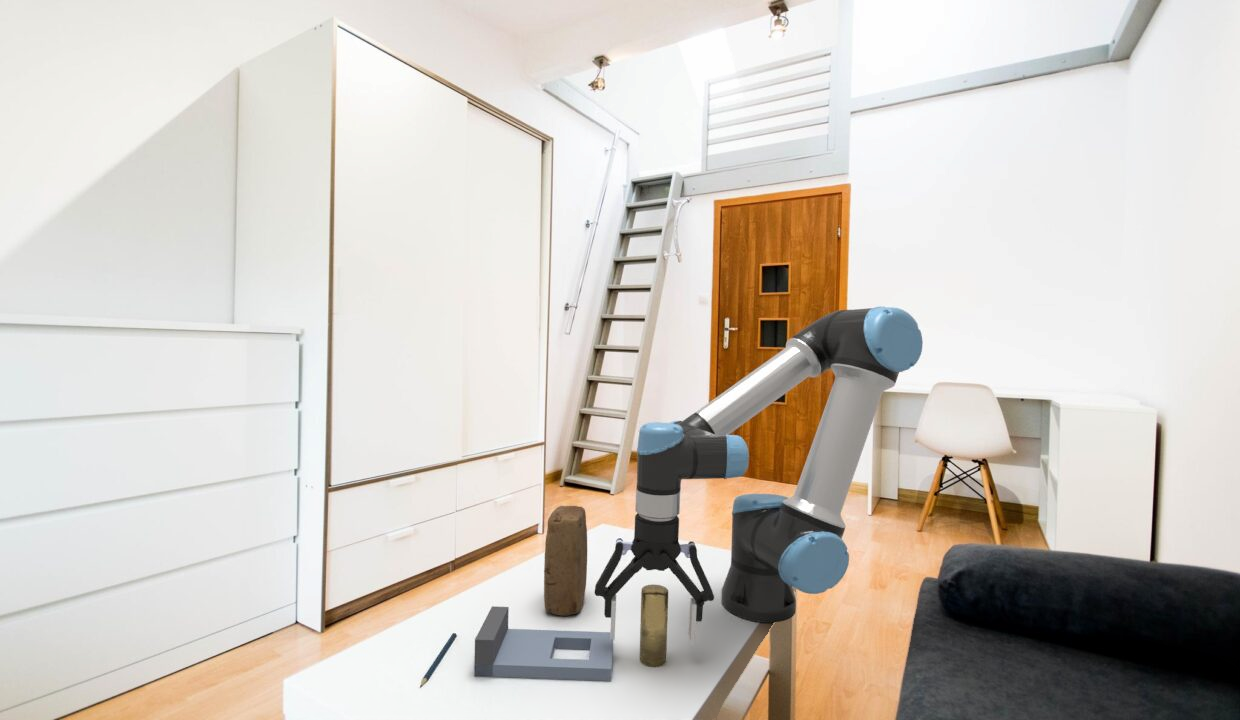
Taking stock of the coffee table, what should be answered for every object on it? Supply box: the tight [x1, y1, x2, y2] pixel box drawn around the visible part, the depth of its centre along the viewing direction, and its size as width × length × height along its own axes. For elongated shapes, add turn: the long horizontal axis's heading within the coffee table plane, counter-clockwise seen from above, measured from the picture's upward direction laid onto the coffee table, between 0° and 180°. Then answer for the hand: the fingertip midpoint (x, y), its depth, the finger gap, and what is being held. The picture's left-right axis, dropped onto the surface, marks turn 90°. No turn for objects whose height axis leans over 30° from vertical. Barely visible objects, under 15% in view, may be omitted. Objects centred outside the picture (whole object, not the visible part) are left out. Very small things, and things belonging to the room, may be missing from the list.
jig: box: [473, 606, 614, 682], centre depth 93 cm, size 22×11×6 cm, turn 89°
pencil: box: [419, 632, 458, 688], centre depth 92 cm, size 1×1×15 cm
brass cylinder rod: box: [639, 584, 669, 668], centre depth 94 cm, size 5×5×12 cm
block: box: [543, 505, 588, 617], centre depth 112 cm, size 11×8×20 cm
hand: (652, 637), depth 94 cm, fingers open, 13 cm apart
